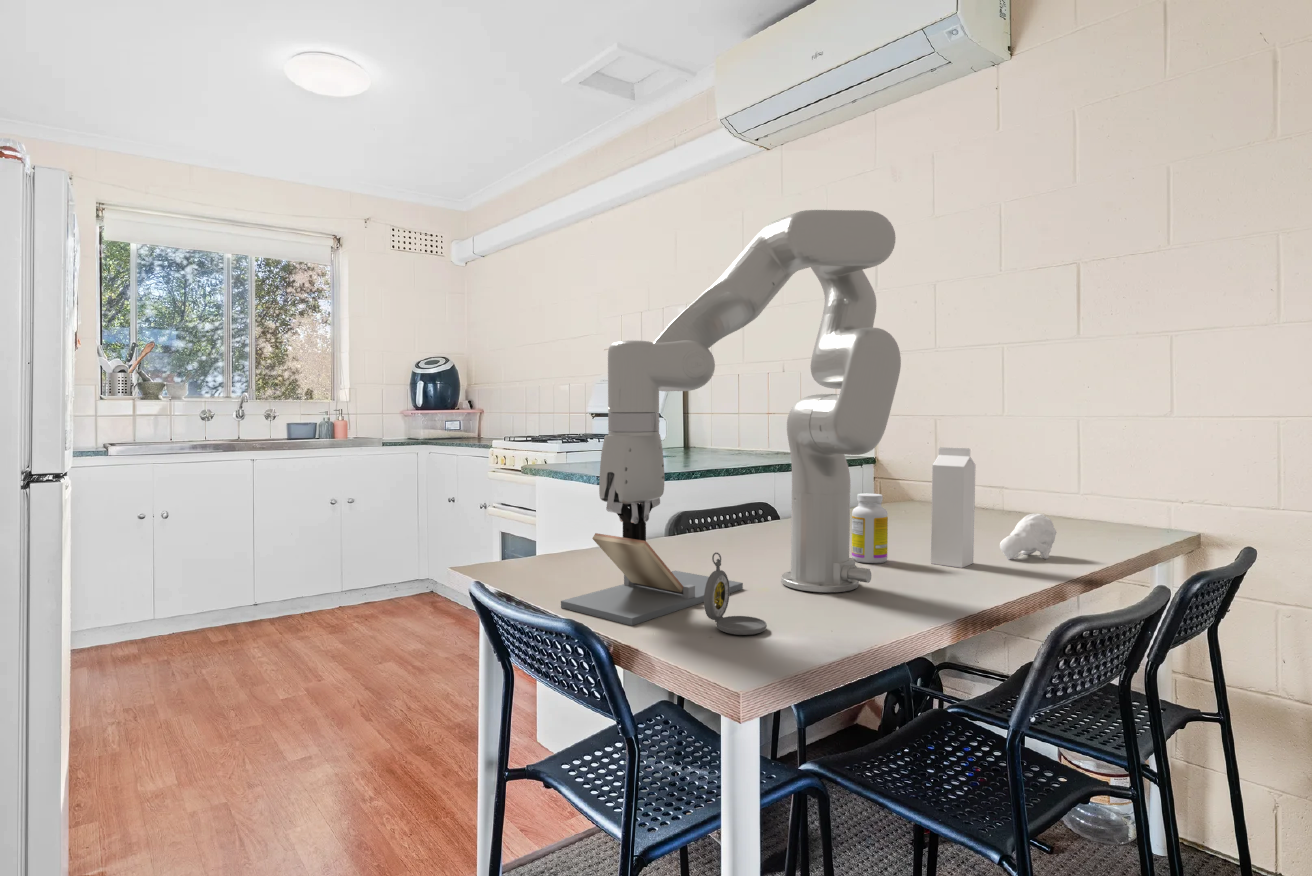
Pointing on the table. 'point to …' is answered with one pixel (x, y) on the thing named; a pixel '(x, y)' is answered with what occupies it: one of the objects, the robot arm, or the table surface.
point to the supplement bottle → (869, 529)
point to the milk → (953, 508)
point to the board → (642, 599)
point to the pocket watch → (720, 590)
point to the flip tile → (639, 562)
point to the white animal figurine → (1030, 537)
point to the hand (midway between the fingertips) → (634, 548)
